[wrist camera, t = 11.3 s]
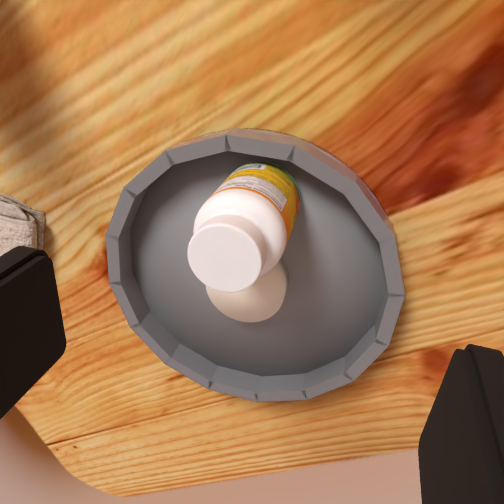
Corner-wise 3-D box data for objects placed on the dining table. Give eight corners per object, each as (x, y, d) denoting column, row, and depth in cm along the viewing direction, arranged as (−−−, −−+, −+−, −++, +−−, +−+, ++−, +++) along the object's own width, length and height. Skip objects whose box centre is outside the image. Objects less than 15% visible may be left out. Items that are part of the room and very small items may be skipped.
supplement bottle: (273, 245, 32) (240, 322, 23) (213, 203, 31) (157, 266, 23) (317, 189, 29) (297, 254, 21) (252, 142, 29) (204, 189, 20)
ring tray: (438, 155, 27) (445, 169, 25) (362, 401, 38) (362, 428, 35) (119, 106, 31) (96, 114, 28) (130, 344, 41) (115, 365, 39)
